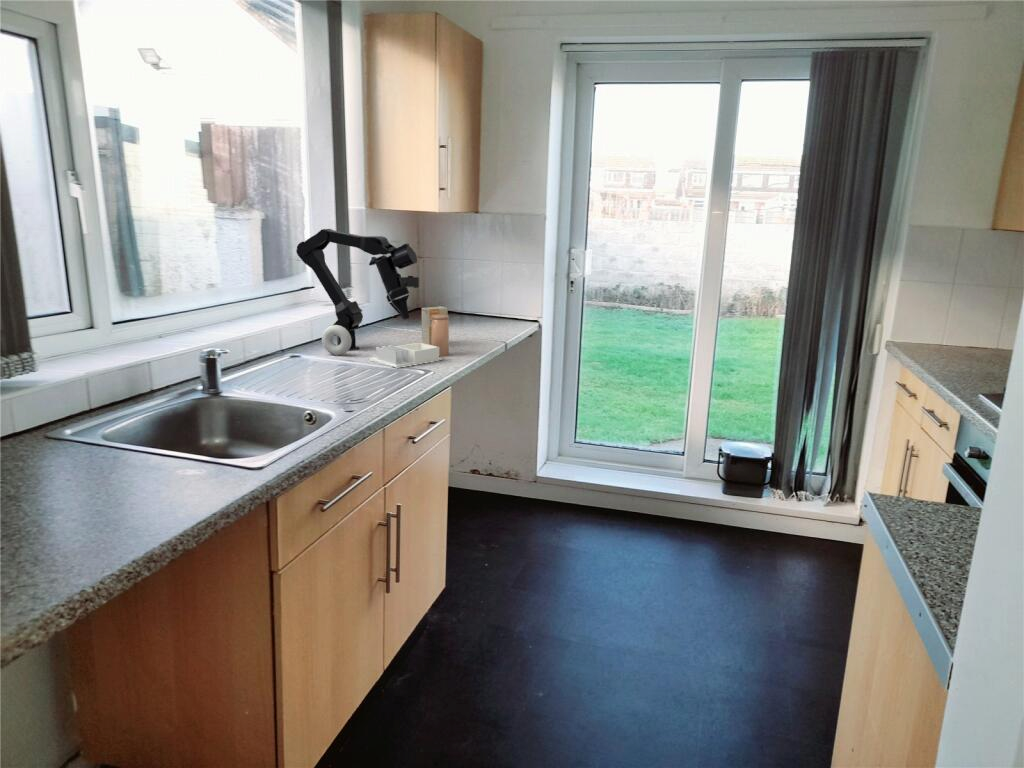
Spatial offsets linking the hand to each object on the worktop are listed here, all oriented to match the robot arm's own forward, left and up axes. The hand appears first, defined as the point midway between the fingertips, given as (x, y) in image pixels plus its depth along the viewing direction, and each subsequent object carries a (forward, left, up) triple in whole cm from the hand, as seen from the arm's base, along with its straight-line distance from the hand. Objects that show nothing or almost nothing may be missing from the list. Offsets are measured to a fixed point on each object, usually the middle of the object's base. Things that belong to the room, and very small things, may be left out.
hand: (406, 318), depth 235 cm
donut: (-12, -19, -12) cm, 26 cm away
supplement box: (-6, +17, -12) cm, 22 cm away
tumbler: (+9, +7, -12) cm, 16 cm away
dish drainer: (+9, -7, -12) cm, 16 cm away
